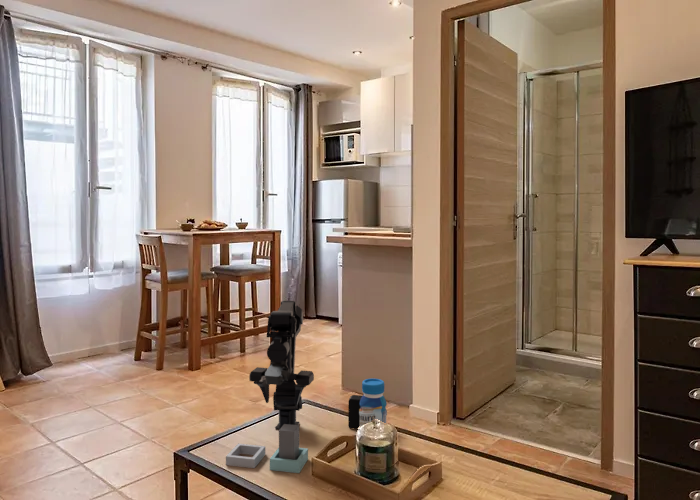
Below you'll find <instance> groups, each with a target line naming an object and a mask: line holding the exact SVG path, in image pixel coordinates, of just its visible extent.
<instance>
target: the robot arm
mask: <svg viewBox="0 0 700 500" xmlns="http://www.w3.org/2000/svg"><path fill="white" fill-rule="evenodd" d="M303 324H304V314H303V309H302V308H301V307H300V306H299V305H298V304H297V301H296V300H282V301H280V306H279V308H278V310H273V311H272V312H270V315H268V317H267V326H266V327H267V328H266V329H267V330H266V338H271V342H270V344H269V346H268V347H267V351H266V356H267V358H268V360H270V362H269V367H259V366H258V367H256V368H254V369H252V371H250V372H249V377H248V378H249V382H253V384H254V385H257V386H258V387H259V389H260V391H261V393H262V395H263V397H264V400H265V403H266V404H268V403H269V401H270V386H271V385H274V386H275V391H274V392H273V397H272V399H273V400H272V401H273V411H278V423H277V424H276V426H275V427H274V428H275V430H280V428H281V427H282V426H283V425H284V424H290V425H299V426H300V421H297V411H298V412H300V410H301V409H303V399H302V393H303V391H304V389H305V388H306V387H308V386H310V385H311V384H312V382H313V381H314V380H315V375H314V374H315V373H313V371H312V370H300V371H299V372H298V373H295V366H296V365H295V362H296V361H295V360H296V345H297V344H296V342H297V340H296V339H297V337H298V335H299V333H300V332H301V330H302V325H303Z"/></svg>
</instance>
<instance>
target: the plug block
mask: <svg viewBox="0 0 700 500" xmlns="http://www.w3.org/2000/svg"><path fill="white" fill-rule="evenodd" d="M278 448H279V458H281V459H291V460H297V459H298V458H299V448H300V424H299V425H290V424H284V425H283V426H282V427H281V428H280V429H278Z"/></svg>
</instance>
